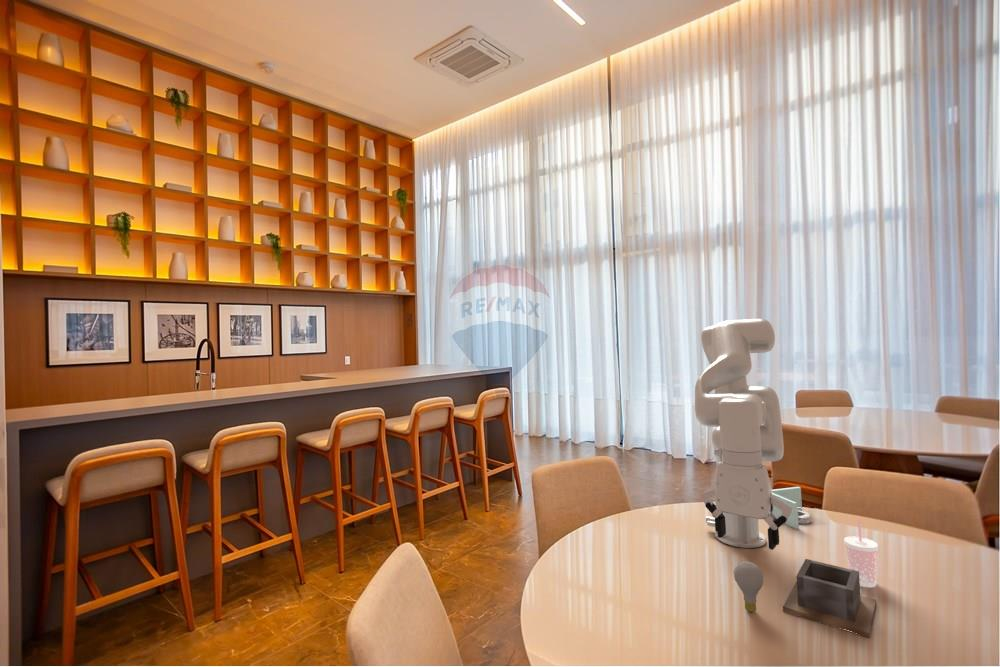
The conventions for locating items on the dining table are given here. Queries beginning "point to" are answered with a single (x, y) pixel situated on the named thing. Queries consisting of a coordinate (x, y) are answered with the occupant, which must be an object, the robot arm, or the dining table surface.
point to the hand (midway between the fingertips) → (746, 541)
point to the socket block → (831, 598)
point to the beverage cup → (862, 557)
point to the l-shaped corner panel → (793, 500)
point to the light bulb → (749, 583)
